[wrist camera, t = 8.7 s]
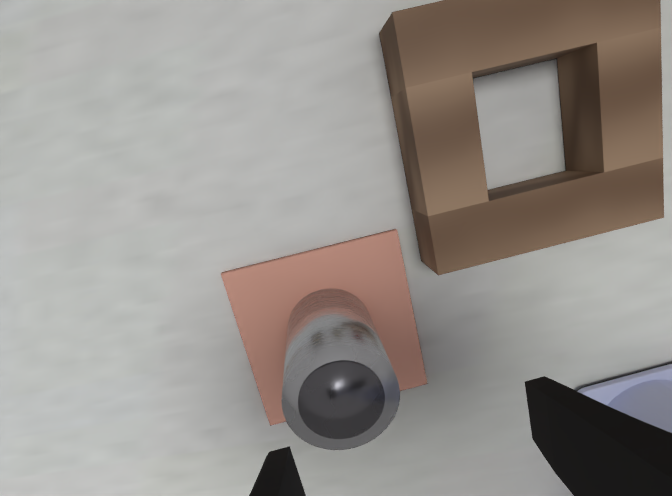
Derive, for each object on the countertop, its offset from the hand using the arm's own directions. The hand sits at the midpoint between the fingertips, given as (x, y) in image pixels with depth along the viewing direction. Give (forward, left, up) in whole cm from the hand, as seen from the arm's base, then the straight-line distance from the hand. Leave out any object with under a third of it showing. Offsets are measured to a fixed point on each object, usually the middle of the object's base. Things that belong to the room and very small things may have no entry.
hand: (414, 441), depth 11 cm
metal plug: (0, +2, -9) cm, 9 cm away
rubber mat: (0, +2, -9) cm, 9 cm away
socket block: (+8, -9, -9) cm, 15 cm away
